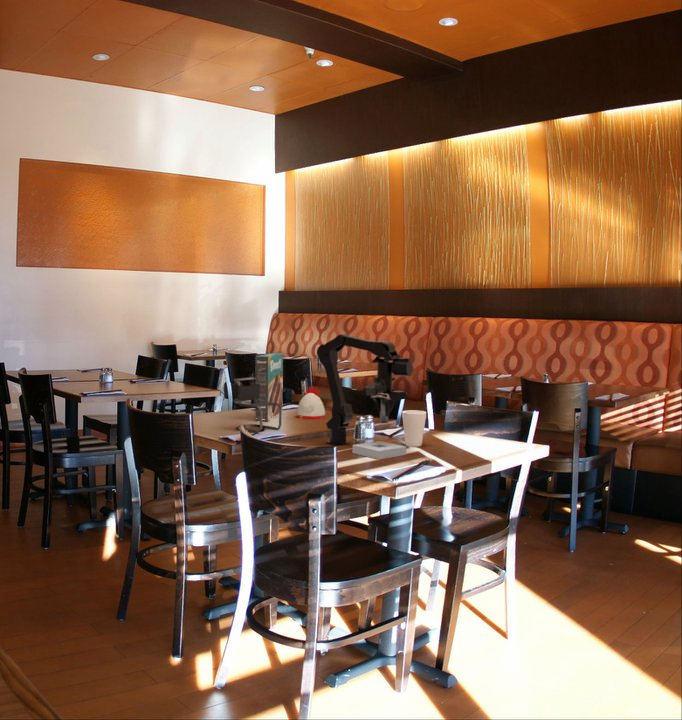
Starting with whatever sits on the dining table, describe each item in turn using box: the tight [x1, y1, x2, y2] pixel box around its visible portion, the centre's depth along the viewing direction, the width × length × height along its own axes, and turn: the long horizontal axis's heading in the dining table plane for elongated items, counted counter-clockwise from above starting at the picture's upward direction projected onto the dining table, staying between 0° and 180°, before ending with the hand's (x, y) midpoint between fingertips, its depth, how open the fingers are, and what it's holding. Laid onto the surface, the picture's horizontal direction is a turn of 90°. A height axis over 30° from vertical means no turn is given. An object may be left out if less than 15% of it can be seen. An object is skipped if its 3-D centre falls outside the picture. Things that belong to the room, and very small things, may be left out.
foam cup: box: [401, 409, 427, 448], centre depth 299 cm, size 10×9×13 cm
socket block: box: [352, 440, 408, 460], centre depth 281 cm, size 14×14×3 cm
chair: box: [233, 376, 283, 433], centre depth 328 cm, size 13×17×22 cm
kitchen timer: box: [296, 385, 326, 420], centre depth 366 cm, size 14×14×15 cm
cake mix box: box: [254, 352, 284, 423], centre depth 360 cm, size 22×6×30 cm, turn 167°
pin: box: [379, 396, 389, 424], centre depth 290 cm, size 3×3×10 cm
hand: (384, 415), depth 290 cm, fingers closed on pin, 3 cm apart
